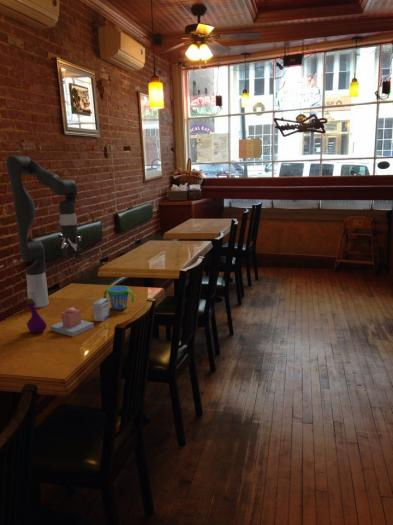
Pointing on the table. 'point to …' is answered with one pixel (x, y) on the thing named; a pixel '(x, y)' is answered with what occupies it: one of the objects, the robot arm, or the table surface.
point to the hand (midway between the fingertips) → (71, 257)
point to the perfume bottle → (35, 318)
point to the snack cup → (119, 296)
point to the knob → (71, 317)
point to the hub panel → (72, 328)
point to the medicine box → (101, 309)
